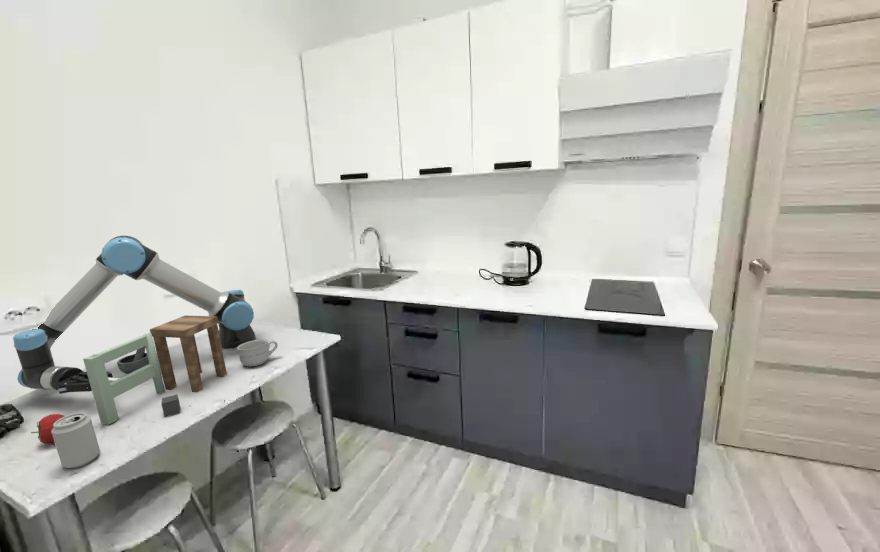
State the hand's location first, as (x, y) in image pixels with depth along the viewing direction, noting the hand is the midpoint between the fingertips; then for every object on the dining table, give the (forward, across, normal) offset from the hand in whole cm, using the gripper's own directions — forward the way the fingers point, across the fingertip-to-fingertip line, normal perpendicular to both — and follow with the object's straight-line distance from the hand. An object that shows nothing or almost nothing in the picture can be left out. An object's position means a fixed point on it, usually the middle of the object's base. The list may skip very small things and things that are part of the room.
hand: (119, 383), depth 126 cm
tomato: (-5, +17, -9) cm, 20 cm away
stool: (+8, -19, -9) cm, 23 cm away
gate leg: (+2, -2, -8) cm, 9 cm away
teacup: (+21, -37, -9) cm, 43 cm away
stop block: (+17, -1, -9) cm, 19 cm away
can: (+13, +22, -9) cm, 27 cm away
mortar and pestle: (-20, -21, -9) cm, 31 cm away
